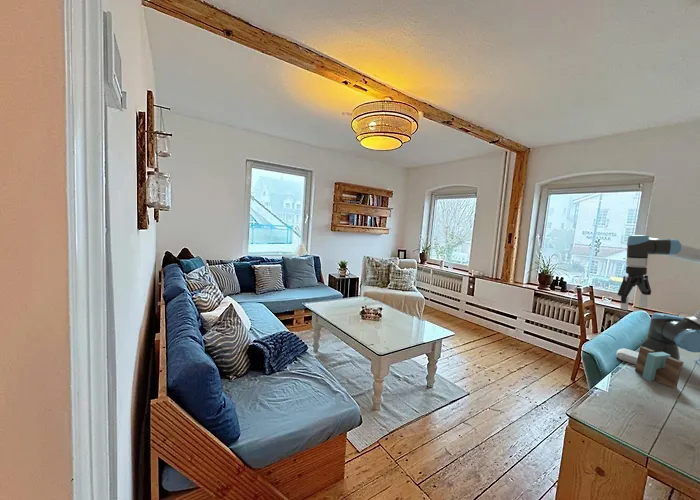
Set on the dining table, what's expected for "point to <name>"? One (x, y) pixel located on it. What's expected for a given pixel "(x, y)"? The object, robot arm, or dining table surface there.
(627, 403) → the dining table surface
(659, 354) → the teal slotted plate
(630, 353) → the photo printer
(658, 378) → the walnut slotted board
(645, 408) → the dining table surface
